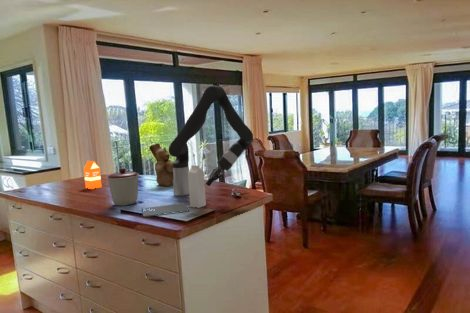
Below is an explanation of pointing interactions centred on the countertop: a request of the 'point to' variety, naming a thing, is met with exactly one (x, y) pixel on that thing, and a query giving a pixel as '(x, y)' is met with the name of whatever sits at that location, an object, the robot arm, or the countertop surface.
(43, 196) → the countertop surface
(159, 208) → the mat
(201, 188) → the milk
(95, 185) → the orange juice
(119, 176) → the canister
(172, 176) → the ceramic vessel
